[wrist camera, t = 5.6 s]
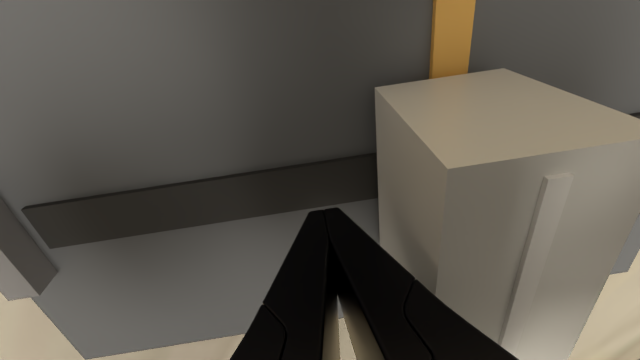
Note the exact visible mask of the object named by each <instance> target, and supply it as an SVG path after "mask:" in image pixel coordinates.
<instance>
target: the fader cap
mask: <svg viewBox="0 0 640 360" xmlns="http://www.w3.org/2000/svg"><path fill="white" fill-rule="evenodd" d="M375 114H376V143H377V173H378V203H379V232H380V246H381V247H382V248H383V249H384V250H386V251H387V252H388V253H389V254H390V255H391V256H392V257H393V258H394V259H395V260H396V261H397V262H399V263H400V264H401V265H402V266H403V267H404V268H405V269H406V270H407V271H408V272H409V273H411V274H412V275H413V276H414V277H415V280H416V279H417V280H418V281H419V282H421V283H422V284H423V285H424V286H425V287H426V288H427V289H428V290H429V291H430V292H432V293H433V294H434V295H435V296H436V297H437V298H439V299H440V300H441V301H442V302H443V303H444V304H445V305H447V306H448V307H449V308H451V309H452V310H453V311H454V312H456V313H457V314H458V315H460V316H461V317H462V318H463V319H465V320H466V321H467V322H469V323H470V324H471V325H473V326H474V327H475V328H477V329H478V330H480V331H481V332H482V333H484V334H485V335H486V336H488V337H489V338H490V339H492V340H493V341H494V342H496V343H497V344H499V345H500V346H501V347H503V348H504V349H505V350H507V351H508V352H509V353H511V354H512V355H513V356H515V357H516V358H518V359H519V360H568V359H569V356H570V354H571V352H572V350H573V348H574V346H575V344H576V342H577V340H578V338H579V336H580V334H581V332H582V330H583V328H584V326H585V324H586V322H587V320H588V317H589V315H590V313H591V311H592V309H593V307H594V305H595V303H596V301H597V299H598V297H599V295H600V293H601V291H602V289H603V287H604V285H605V283H606V281H607V279H608V276H609V274H610V272H611V270H612V268H613V266H614V264H615V262H616V260H617V258H618V256H619V254H620V252H621V250H622V248H623V246H624V244H625V242H626V240H627V237H628V235H629V233H630V231H631V229H632V227H633V225H634V223H635V221H636V219H637V217H638V215H639V213H640V119H638V118H636V117H633V116H630V115H628V114H625V113H622V112H620V111H617V110H614V109H612V108H609V107H606V106H604V105H601V104H598V103H596V102H593V101H590V100H588V99H585V98H582V97H580V96H577V95H574V94H572V93H569V92H566V91H564V90H561V89H558V88H556V87H553V86H550V85H548V84H545V83H542V82H540V81H537V80H534V79H532V78H529V77H526V76H523V75H521V74H518V73H515V72H513V71H510V70H507V69H505V68H501V69H495V70H488V71H481V72H474V73H468V74H461V75H454V76H447V77H441V78H434V79H427V80H421V81H414V82H407V83H400V84H394V85H387V86H380V87H375Z"/></svg>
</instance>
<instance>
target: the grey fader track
mask: <svg viewBox="0 0 640 360" xmlns="http://www.w3.org/2000/svg"><path fill="white" fill-rule="evenodd" d="M501 68H505V69H507V70H510V71H513V72H515V73H518V74H521V75H523V76H526V77H529V78H532V79H534V80H537V81H540V82H542V83H545V84H548V85H550V86H553V87H556V88H558V89H561V90H564V91H566V92H569V93H572V94H574V95H577V96H580V97H582V98H585V99H588V100H590V101H593V102H596V103H598V104H601V105H604V106H606V107H609V108H612V109H614V110H617V111H620V112H622V113H625V114H628V115H630V116H633V117H636V118H638V119H640V0H0V292H1V293H2V294H3V295H4V296H5V297H6V299H7V300H8V301H10V300H16V299H22V298H29V297H31V298H32V300H33V301H34V302H35V303H36V304H37V305H38V306H39V307H40V309H41V310H42V311H43V312H44V313H45V314H46V315H47V317H48V318H49V319H50V320H51V321H52V322H53V323H54V325H55V326H56V327H57V328H58V329H59V330H60V331H61V333H62V334H63V335H64V336H65V337H66V338H67V339H68V341H69V342H70V343H71V344H72V345H73V346H74V347H75V349H76V350H77V351H78V352H79V353H80V354H81V355H82V356H83V358H84V359H85V360H86V359H92V358H98V357H105V356H111V355H117V354H123V353H129V352H135V351H142V350H148V349H154V348H160V347H166V346H172V345H179V344H185V343H191V342H197V341H203V340H209V339H215V338H222V337H228V336H234V335H240V334H246V332H247V330H248V329H249V327H250V325H251V323H252V321H253V320H254V318H255V316H256V314H257V312H258V310H259V308H260V306H261V305H263V304H262V302H263V300H264V298H265V296H266V294H267V293H268V291H269V289H270V287H271V285H272V283H273V281H274V279H275V277H276V275H277V273H278V271H279V269H280V267H281V265H282V263H283V261H284V259H285V257H286V255H287V253H288V251H289V250H290V248H291V246H292V244H293V242H294V240H295V238H296V236H297V234H298V232H299V230H300V228H301V226H302V224H303V222H304V220H305V218H306V216H307V214H308V213H309V212H310V211H315V210H324V209H328V208H334V207H338V208H340V209H341V210H342V211H343V212H344V213H345V214H346V215H347V216H348V217H350V218H351V219H352V220H353V221H354V222H355V223H356V224H357V225H358V226H359V227H360V228H362V229H363V230H364V231H365V232H366V233H367V234H368V235H369V236H370V237H371V238H372V239H374V240H375V241H376V242H377V243H378V244H379V245H380V232H379V203H378V173H377V143H376V114H375V87H380V86H387V85H394V84H400V83H407V82H414V81H421V80H427V79H434V78H441V77H447V76H454V75H461V74H468V73H474V72H481V71H488V70H495V69H501ZM639 249H640V213H639V215H638V217H637V219H636V221H635V223H634V225H633V227H632V229H631V231H630V233H629V235H628V237H627V240H626V242H625V244H624V246H623V248H622V250H621V252H620V254H619V256H618V258H617V260H616V262H615V264H614V266H613V268H612V270H611V272H610V274H616V273H622V272H628V270H629V268H630V266H631V264H632V262H633V260H634V259H635V257H636V255H637V253H638V251H639ZM610 274H609V275H610ZM337 298H338V295H337ZM339 318H344V316H343V312H342V309H341V306H340V303H339V299H338V319H339Z"/></svg>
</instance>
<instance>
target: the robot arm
mask: <svg viewBox="0 0 640 360" xmlns="http://www.w3.org/2000/svg"><path fill="white" fill-rule="evenodd" d="M337 295H338V298H337ZM338 299H339V303H340V306H341V309H342V312H343V316H344V319H345V322H346V326H347V329H348V332H349V336H350V339H351V342H352V345H353V349H354V352H355V355H356V359H357V360H519V359H518V358H516V357H515V356H513V355H512V354H511V353H509V352H508V351H507V350H505V349H504V348H503V347H501V346H500V345H499V344H497V343H496V342H494V341H493V340H492V339H490V338H489V337H488V336H486V335H485V334H484V333H482V332H481V331H480V330H478V329H477V328H475V327H474V326H473V325H471V324H470V323H469V322H467V321H466V320H465V319H463V318H462V317H461V316H460V315H458V314H457V313H456V312H454V311H453V310H452V309H451V308H449V307H448V306H447V305H445V304H444V303H443V302H442V301H441V300H440V299H439V298H437V297H436V296H435V295H434V294H433V293H432V292H430V291H429V290H428V289H427V288H426V287H425V286H424V285H423V284H422V283H421V282H419V281H418V280H417V279H416V280H415V277H414V276H413V275H412V274H411V273H409V272H408V271H407V270H406V269H405V268H404V267H403V266H402V265H401V264H400V263H399V262H397V261H396V260H395V259H394V258H393V257H392V256H391V255H390V254H389V253H388V252H387V251H386V250H384V249H383V248H382V247H381V246H380V245H379V244H378V243H377V242H376V241H375V240H374V239H372V238H371V237H370V236H369V235H368V234H367V233H366V232H365V231H364V230H363V229H362V228H360V227H359V226H358V225H357V224H356V223H355V222H354V221H353V220H352V219H351V218H350V217H348V216H347V215H346V214H345V213H344V212H343V211H342V210H341V209H340V208H338V207H334V208H328V209H324V210H315V211H310V212H309V213H308V214H307V216H306V218H305V220H304V222H303V224H302V226H301V228H300V230H299V232H298V234H297V236H296V238H295V240H294V242H293V244H292V246H291V248H290V250H289V251H288V253H287V255H286V257H285V259H284V261H283V263H282V265H281V267H280V269H279V271H278V273H277V275H276V277H275V279H274V281H273V283H272V285H271V287H270V289H269V291H268V293H267V294H266V296H265V298H264V300H263V302H262V304H263V305H261V306H260V308H259V310H258V312H257V314H256V316H255V318H254V320H253V321H252V323H251V325H250V327H249V329H248V330H247V332H246V334H245V336H244V338H243V339H242V341H241V343H240V344H239V346H238V347H237V349H236V350H235V352H234V354H233V355H232V357H231V358H230V360H340V348H339V322H338Z"/></svg>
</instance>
